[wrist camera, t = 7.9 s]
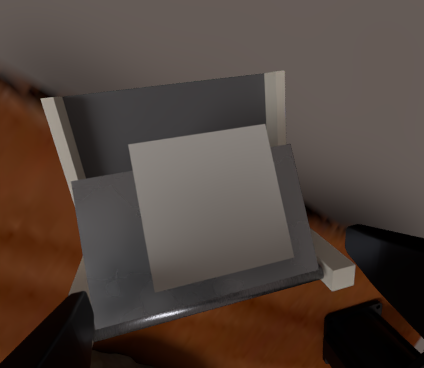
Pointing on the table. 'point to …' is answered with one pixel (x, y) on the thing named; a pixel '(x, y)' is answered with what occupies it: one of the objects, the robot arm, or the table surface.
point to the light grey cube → (209, 205)
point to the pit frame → (171, 134)
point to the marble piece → (113, 361)
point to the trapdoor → (140, 267)
